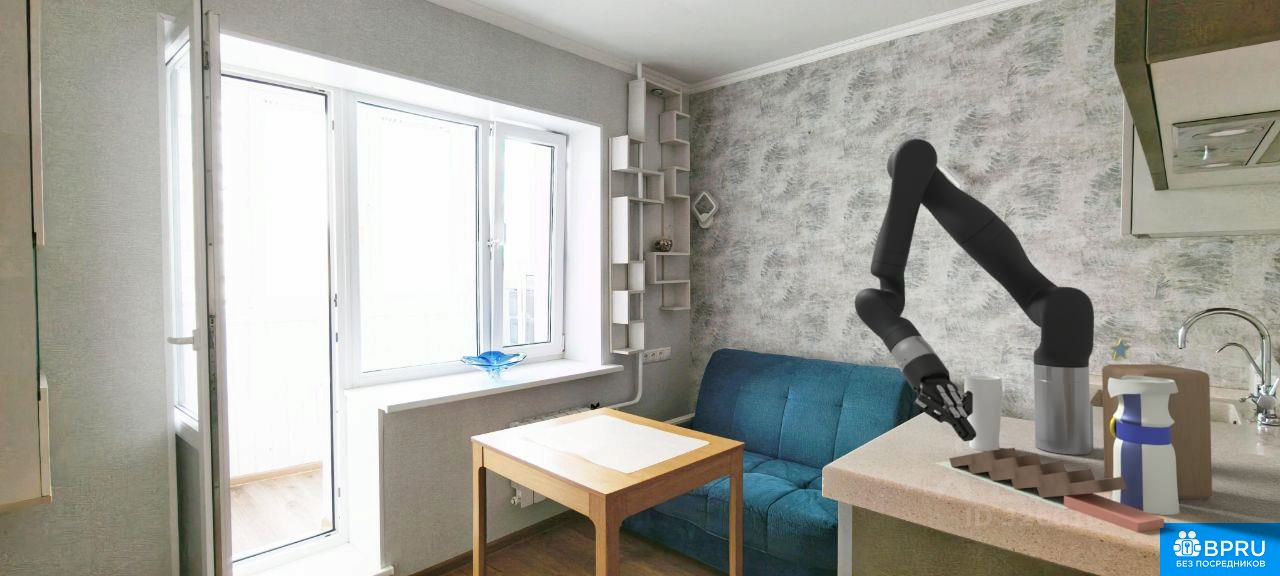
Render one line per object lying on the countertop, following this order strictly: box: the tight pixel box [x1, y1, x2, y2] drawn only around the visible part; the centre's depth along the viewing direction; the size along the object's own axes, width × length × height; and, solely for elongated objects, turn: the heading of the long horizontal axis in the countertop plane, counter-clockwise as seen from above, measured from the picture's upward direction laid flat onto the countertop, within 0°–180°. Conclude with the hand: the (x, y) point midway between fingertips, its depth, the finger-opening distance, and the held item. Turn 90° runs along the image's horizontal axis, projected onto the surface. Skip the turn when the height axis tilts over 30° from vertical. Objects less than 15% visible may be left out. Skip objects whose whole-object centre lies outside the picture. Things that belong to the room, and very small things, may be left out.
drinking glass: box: [963, 374, 1003, 452], centre depth 121 cm, size 7×7×15 cm
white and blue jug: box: [1108, 338, 1180, 516], centre depth 88 cm, size 8×9×25 cm
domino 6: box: [1064, 493, 1165, 533], centre depth 84 cm, size 5×2×10 cm
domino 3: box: [988, 460, 1068, 481], centre depth 97 cm, size 5×2×10 cm
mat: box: [934, 460, 1071, 510], centre depth 100 cm, size 7×25×1 cm, turn 17°
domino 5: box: [1037, 477, 1127, 498], centre depth 88 cm, size 5×2×10 cm
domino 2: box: [968, 453, 1042, 474], centre depth 101 cm, size 5×2×10 cm
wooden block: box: [1101, 363, 1213, 501], centre depth 96 cm, size 10×10×20 cm
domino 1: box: [948, 447, 1018, 467], centre depth 105 cm, size 5×2×10 cm
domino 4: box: [1011, 468, 1096, 489], centre depth 93 cm, size 5×2×10 cm
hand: (970, 438), depth 107 cm, fingers closed
